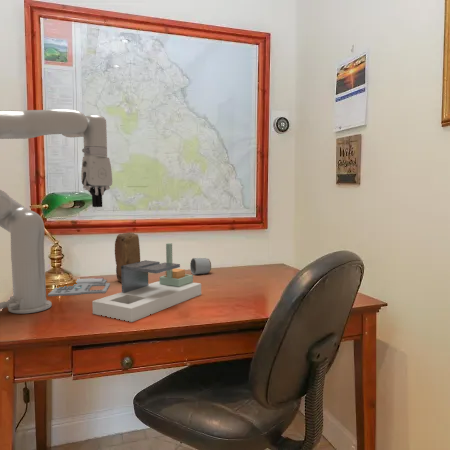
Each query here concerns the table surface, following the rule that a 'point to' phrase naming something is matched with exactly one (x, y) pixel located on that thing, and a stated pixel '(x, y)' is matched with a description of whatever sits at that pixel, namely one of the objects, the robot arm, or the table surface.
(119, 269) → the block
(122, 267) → the grey overhanging bracket
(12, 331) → the table surface
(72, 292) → the blue-grey slotted plate
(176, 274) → the orange block
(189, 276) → the green peg stand
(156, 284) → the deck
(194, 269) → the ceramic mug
